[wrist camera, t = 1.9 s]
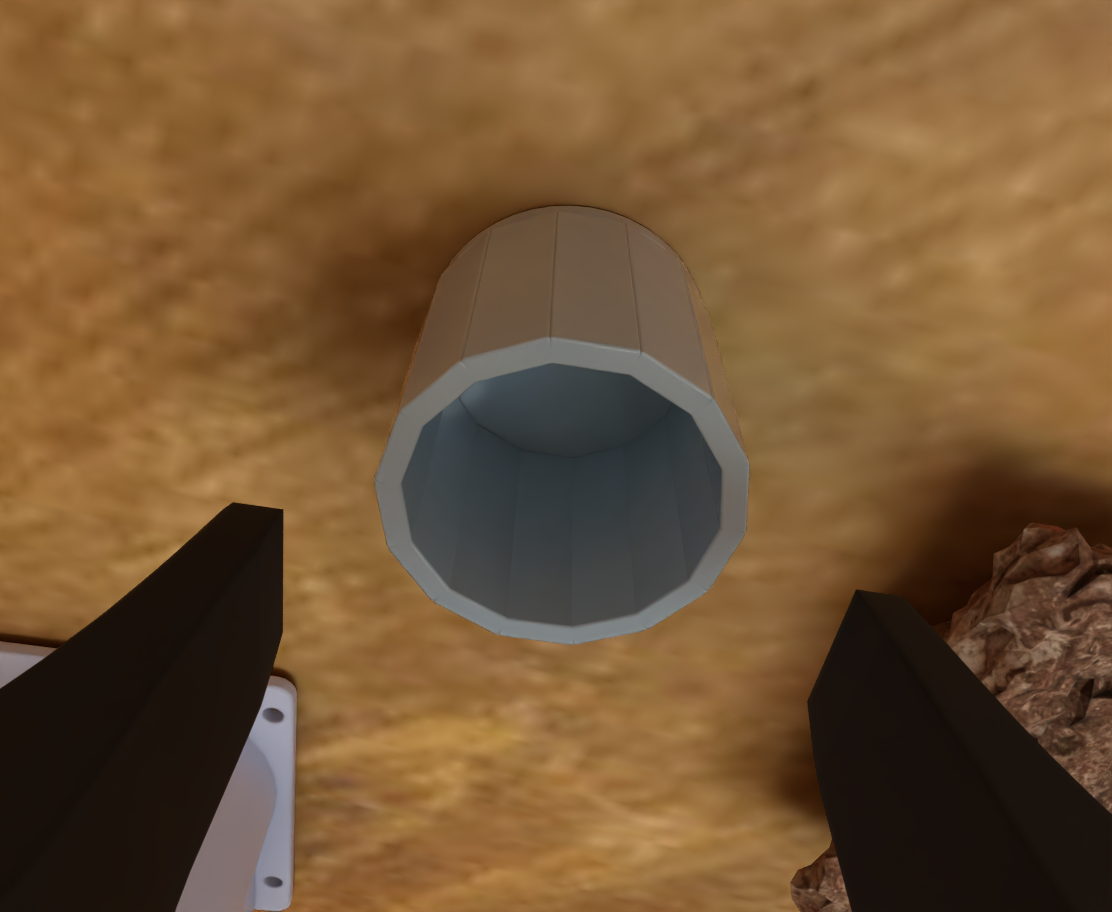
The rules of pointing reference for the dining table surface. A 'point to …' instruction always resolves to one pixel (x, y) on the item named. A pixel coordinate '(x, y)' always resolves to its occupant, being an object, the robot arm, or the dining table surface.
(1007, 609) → the rock
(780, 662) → the dining table surface
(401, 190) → the dining table surface
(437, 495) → the cup
